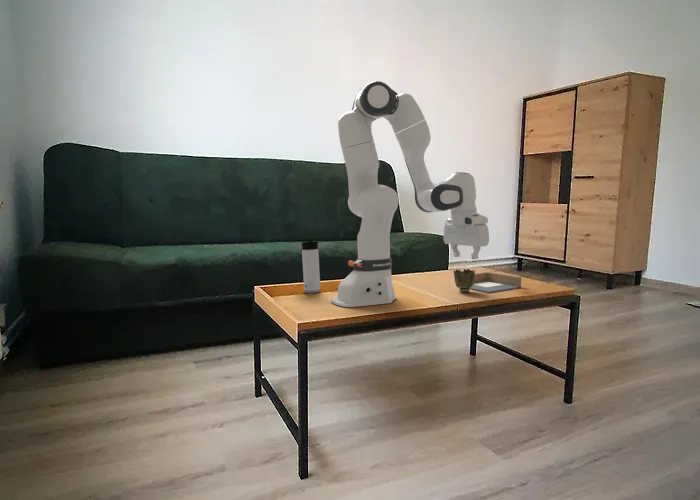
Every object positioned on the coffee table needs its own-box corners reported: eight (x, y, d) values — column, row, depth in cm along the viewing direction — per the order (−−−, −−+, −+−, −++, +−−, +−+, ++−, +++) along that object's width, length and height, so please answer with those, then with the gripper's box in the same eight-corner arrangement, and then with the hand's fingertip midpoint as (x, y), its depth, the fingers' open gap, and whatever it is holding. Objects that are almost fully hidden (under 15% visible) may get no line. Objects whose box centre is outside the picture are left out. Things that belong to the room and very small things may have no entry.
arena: (488, 293, 160) (488, 282, 160) (456, 286, 175) (456, 276, 175) (521, 287, 167) (521, 277, 167) (487, 281, 182) (487, 271, 182)
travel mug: (305, 294, 172) (302, 241, 170) (303, 291, 179) (300, 240, 177) (321, 293, 173) (319, 240, 171) (319, 290, 180) (316, 239, 178)
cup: (473, 290, 167) (473, 268, 166) (477, 294, 160) (476, 271, 159) (452, 290, 168) (452, 268, 167) (455, 294, 160) (454, 272, 160)
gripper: (438, 219, 169) (440, 256, 170) (477, 219, 151) (478, 261, 152) (451, 218, 172) (453, 254, 173) (491, 218, 153) (493, 259, 155)
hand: (465, 257), depth 162 cm, fingers open, 8 cm apart
